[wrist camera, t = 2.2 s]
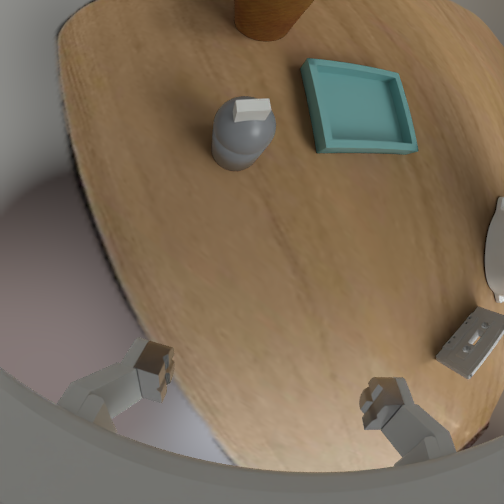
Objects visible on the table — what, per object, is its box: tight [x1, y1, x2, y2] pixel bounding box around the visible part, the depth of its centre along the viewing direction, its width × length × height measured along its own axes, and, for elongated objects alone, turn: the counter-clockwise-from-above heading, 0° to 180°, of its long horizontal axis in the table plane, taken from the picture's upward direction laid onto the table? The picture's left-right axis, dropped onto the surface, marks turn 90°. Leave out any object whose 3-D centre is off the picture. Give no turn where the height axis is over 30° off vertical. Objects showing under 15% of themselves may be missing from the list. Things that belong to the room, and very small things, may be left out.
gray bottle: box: [211, 96, 276, 171], centre depth 19 cm, size 4×4×10 cm
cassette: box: [436, 307, 504, 379], centre depth 29 cm, size 12×2×8 cm, turn 123°
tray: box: [300, 58, 418, 155], centre depth 25 cm, size 12×10×2 cm
